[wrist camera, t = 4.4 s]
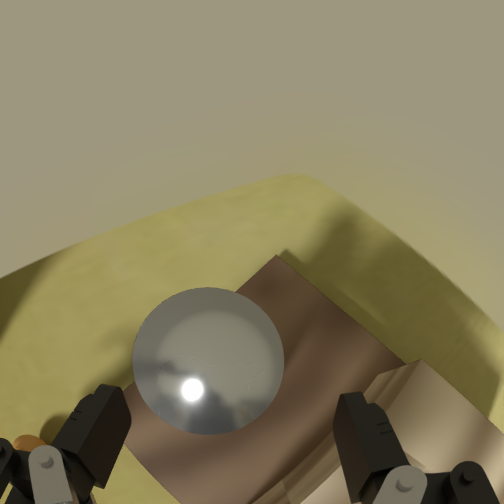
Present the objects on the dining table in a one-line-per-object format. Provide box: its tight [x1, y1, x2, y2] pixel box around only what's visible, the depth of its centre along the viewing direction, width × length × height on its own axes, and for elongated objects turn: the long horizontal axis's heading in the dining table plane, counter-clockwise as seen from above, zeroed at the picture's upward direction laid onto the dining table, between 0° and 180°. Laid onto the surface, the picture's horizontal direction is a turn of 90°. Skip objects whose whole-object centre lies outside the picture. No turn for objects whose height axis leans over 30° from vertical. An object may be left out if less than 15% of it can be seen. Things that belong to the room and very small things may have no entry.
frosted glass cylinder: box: [132, 287, 284, 435], centre depth 11 cm, size 3×3×13 cm
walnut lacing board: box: [123, 255, 406, 504], centre depth 15 cm, size 26×18×2 cm
